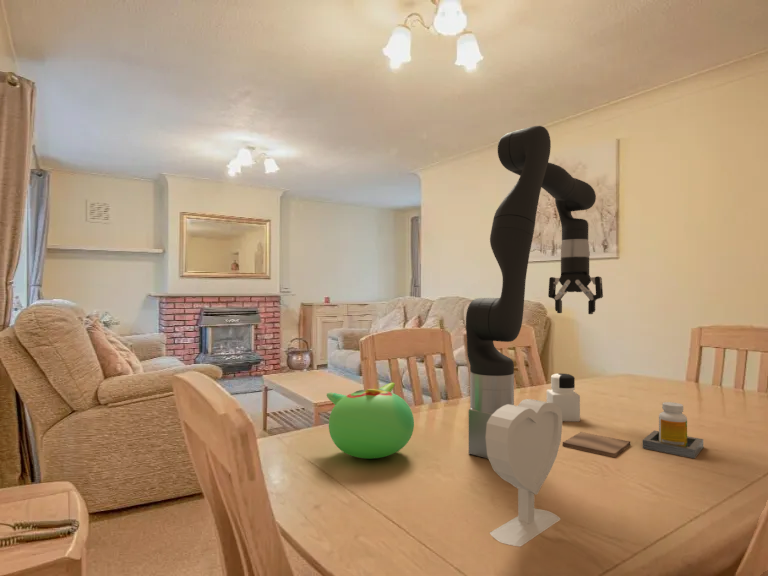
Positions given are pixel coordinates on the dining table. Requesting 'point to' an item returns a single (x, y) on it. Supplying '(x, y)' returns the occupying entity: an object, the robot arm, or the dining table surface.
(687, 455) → the square frame
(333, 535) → the dining table surface
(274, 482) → the dining table surface
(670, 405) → the supplement bottle
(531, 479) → the heart sculpture
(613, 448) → the coaster
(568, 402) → the medicine bottle
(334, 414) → the green rounded blob
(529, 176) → the robot arm
